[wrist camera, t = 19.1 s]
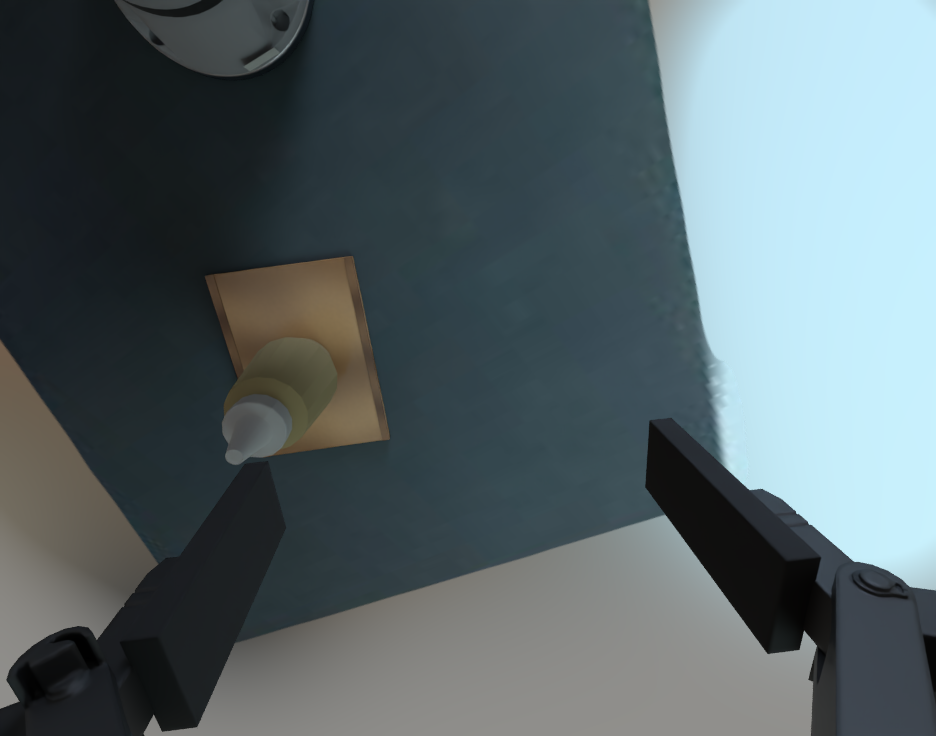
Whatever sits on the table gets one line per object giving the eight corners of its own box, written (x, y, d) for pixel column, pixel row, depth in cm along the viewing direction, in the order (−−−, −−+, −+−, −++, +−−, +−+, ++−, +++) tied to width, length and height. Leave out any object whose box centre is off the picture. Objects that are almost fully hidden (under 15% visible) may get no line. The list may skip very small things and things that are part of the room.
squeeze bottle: (293, 412, 49) (221, 525, 32) (247, 349, 46) (142, 436, 30) (359, 379, 48) (320, 477, 32) (316, 312, 46) (248, 380, 29)
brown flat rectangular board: (207, 274, 44) (204, 276, 44) (353, 255, 44) (351, 256, 44) (265, 454, 51) (263, 457, 51) (390, 436, 52) (389, 439, 51)
